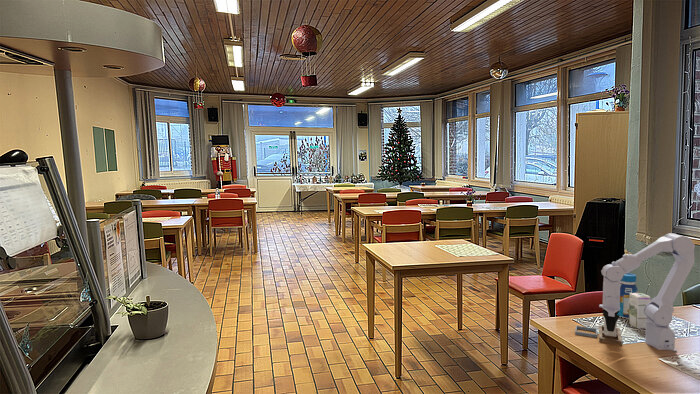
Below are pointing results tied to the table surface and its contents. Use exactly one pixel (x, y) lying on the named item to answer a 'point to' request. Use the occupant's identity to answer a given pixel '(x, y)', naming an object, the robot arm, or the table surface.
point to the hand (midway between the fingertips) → (610, 329)
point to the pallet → (609, 337)
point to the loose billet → (610, 331)
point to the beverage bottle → (626, 293)
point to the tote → (587, 330)
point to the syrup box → (638, 309)
